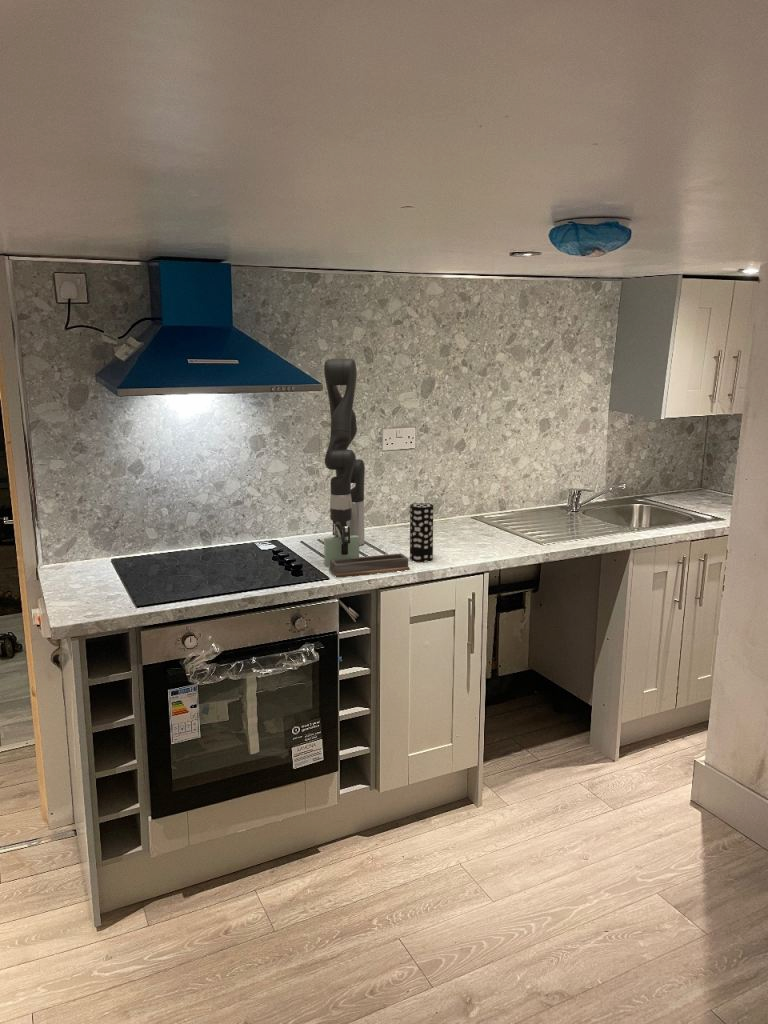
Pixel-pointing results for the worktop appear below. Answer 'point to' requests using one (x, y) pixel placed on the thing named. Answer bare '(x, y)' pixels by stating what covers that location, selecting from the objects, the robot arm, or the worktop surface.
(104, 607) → the worktop surface
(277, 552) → the worktop surface
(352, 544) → the door panel
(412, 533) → the spotted tube
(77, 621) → the worktop surface
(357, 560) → the door track
